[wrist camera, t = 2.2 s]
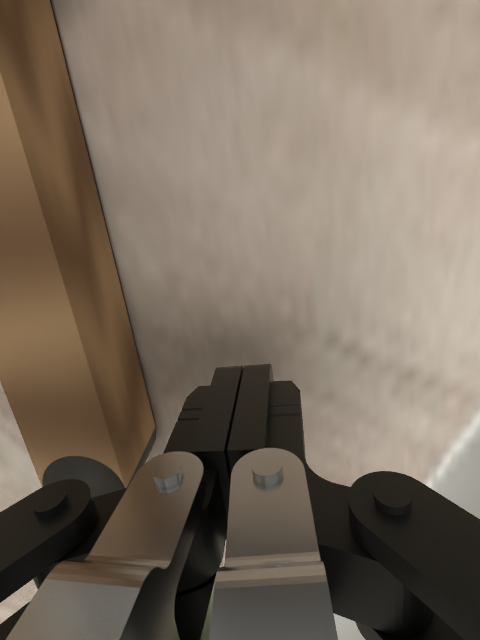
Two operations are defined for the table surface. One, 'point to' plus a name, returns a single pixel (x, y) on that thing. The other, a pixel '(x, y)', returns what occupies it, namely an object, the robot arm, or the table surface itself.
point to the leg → (60, 276)
